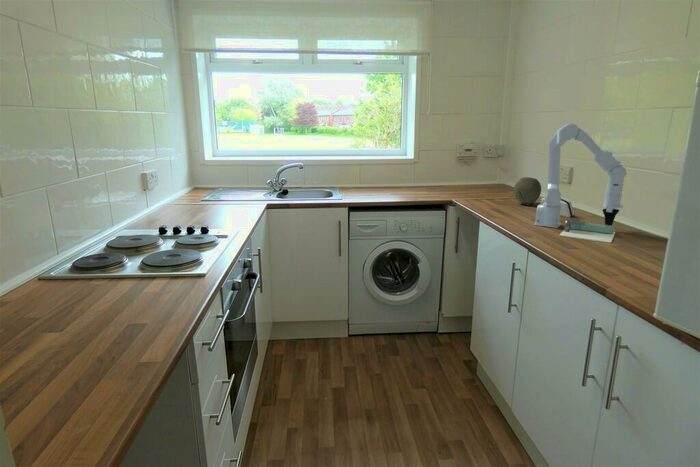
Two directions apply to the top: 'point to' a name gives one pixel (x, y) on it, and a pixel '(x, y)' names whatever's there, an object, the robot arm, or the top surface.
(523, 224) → the top surface
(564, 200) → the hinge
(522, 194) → the cantaloupe
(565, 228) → the keeper
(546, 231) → the top surface
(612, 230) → the link
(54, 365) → the top surface
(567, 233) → the plate
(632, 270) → the top surface
